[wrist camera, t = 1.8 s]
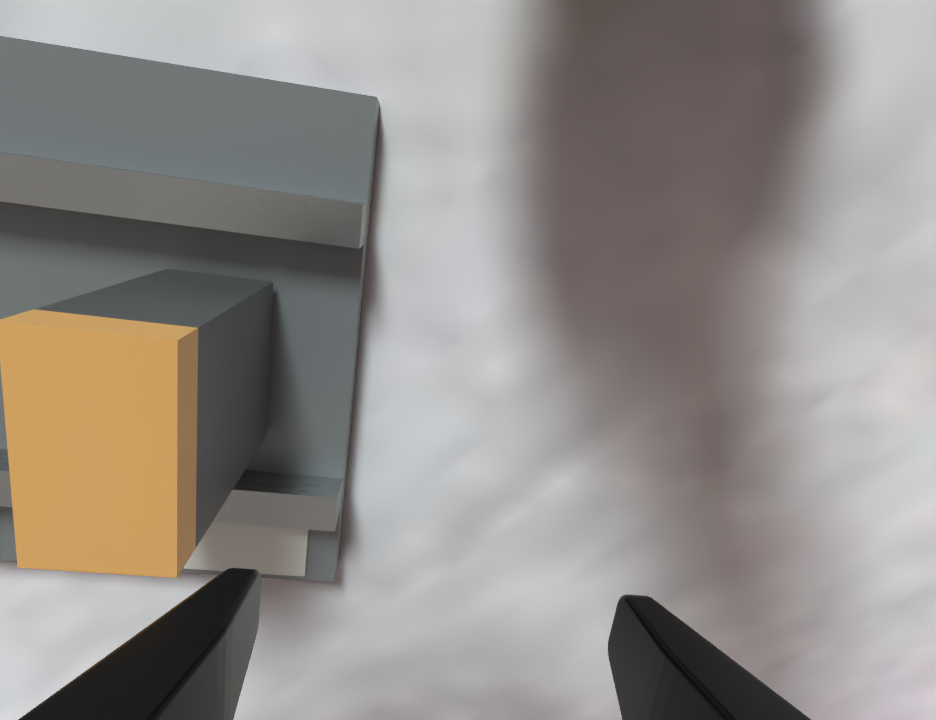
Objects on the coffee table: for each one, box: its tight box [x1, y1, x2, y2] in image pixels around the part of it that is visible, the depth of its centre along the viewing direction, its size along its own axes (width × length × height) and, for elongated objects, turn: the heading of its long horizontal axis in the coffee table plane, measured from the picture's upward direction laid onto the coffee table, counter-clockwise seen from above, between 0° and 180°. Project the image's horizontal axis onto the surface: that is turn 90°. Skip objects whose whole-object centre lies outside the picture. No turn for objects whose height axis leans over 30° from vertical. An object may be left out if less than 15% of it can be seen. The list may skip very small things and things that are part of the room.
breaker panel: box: [0, 36, 380, 582], centre depth 17 cm, size 18×16×3 cm
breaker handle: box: [0, 269, 273, 578], centre depth 14 cm, size 3×5×7 cm, turn 172°
